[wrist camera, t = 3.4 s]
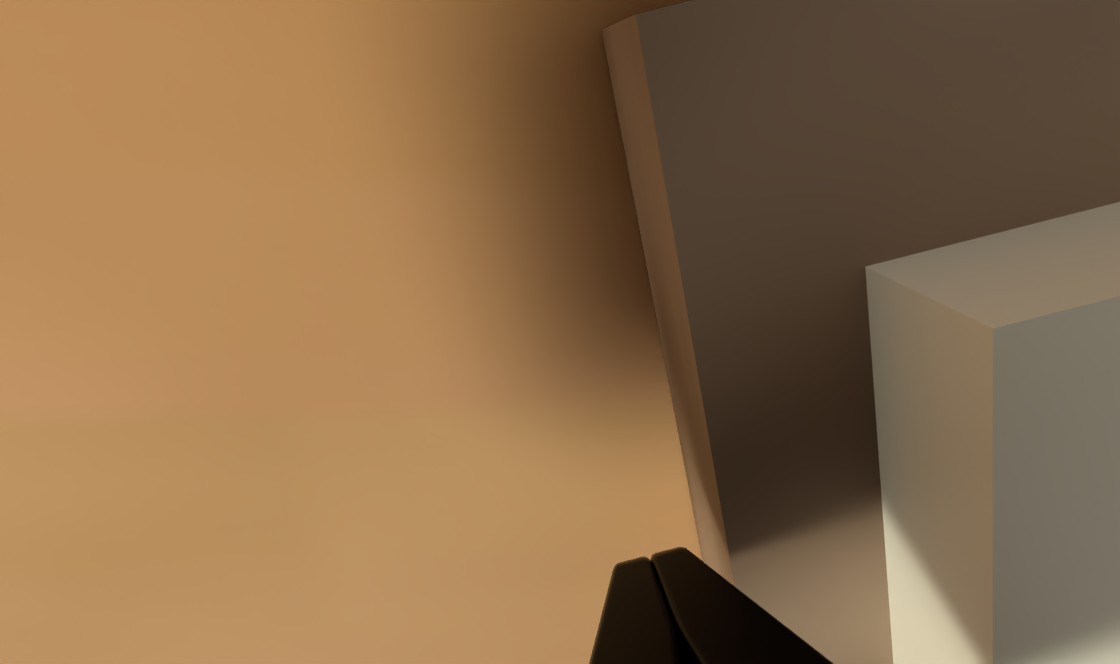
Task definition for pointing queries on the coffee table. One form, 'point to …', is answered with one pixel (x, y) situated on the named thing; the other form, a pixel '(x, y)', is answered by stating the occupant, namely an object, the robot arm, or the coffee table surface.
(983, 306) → the tile
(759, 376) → the plate
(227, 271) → the coffee table surface
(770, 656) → the robot arm
